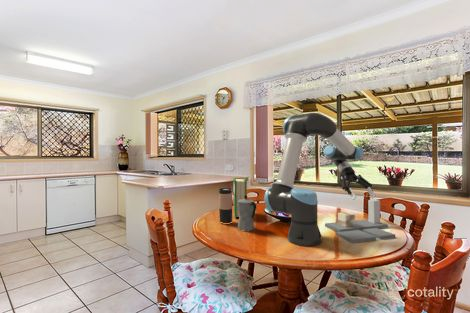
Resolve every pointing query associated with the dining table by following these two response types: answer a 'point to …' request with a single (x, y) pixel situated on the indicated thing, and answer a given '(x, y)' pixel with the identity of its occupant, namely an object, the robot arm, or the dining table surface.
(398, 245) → the dining table surface
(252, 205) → the coffeepot
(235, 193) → the hardback book
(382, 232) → the broken strip
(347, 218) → the birch cube
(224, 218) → the travel mug
